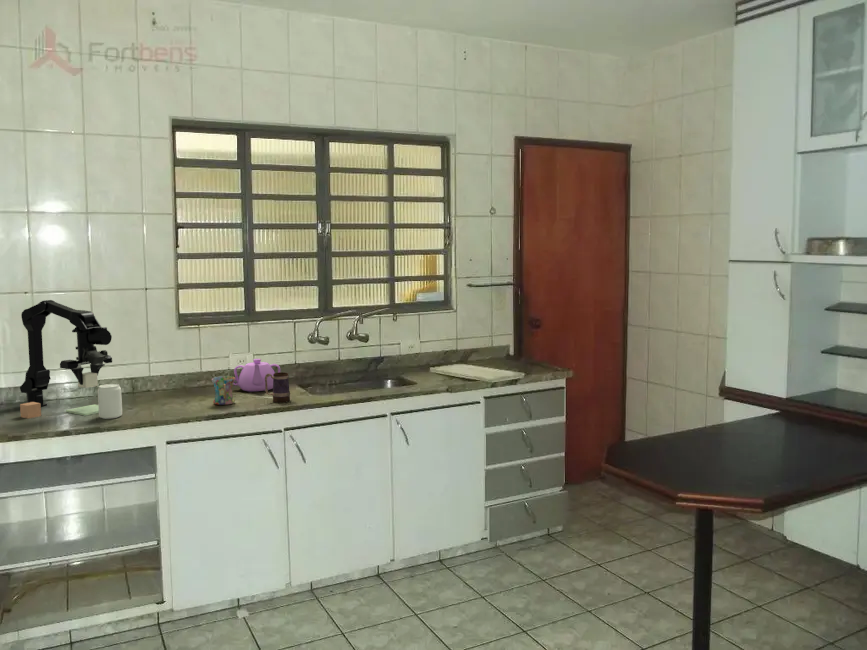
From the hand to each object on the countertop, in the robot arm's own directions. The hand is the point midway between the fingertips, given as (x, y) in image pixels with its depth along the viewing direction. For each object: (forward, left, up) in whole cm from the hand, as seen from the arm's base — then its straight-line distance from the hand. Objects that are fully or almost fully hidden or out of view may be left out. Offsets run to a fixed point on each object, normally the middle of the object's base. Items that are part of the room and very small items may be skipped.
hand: (87, 383), depth 286 cm
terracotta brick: (-11, -17, -11) cm, 23 cm away
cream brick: (0, 0, -1) cm, 1 cm away
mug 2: (+52, +50, -11) cm, 73 cm away
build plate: (0, 0, -11) cm, 11 cm away
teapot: (+28, +63, -11) cm, 70 cm away
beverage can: (+16, -2, -11) cm, 20 cm away
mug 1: (+37, +35, -11) cm, 52 cm away
